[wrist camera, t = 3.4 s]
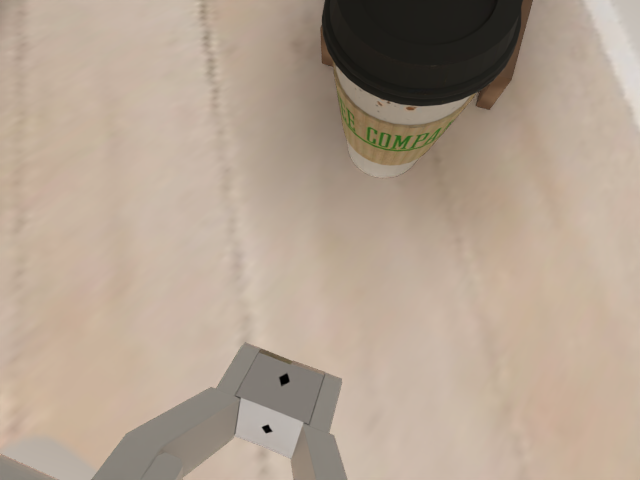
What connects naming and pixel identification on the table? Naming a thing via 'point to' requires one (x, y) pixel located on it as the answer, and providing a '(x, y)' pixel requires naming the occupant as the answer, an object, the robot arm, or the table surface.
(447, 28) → the coffee cup
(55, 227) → the table surface
